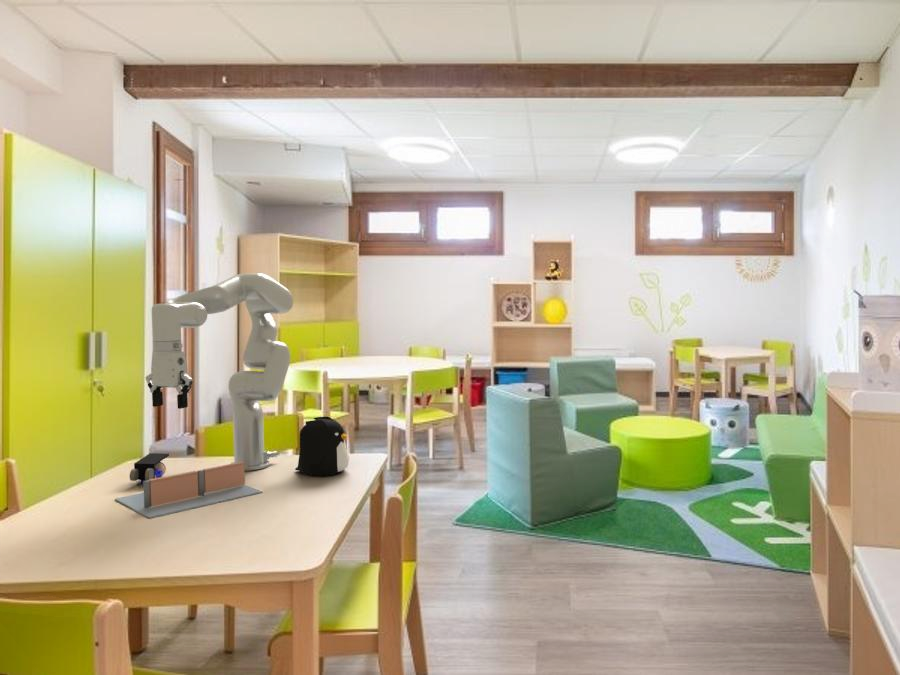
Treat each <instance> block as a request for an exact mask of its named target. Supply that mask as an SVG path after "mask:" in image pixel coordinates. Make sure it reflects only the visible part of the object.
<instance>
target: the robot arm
mask: <svg viewBox="0 0 900 675" xmlns="http://www.w3.org/2000/svg"><path fill="white" fill-rule="evenodd" d="M243 302H245V303H244V304H245V306H246V309H247V311H248V315H249V316H250V319H251V329H250V334H249V336H248V339H247V342H246V345H245V349H244V352H243V356H242V363H243V365H244V366H245V367H246V368H249V369H251V370H240V371H237V372H235V373H234V374H232V375H231V376H230V378H229V380H228V391H229V396H230V400H231V407H232V424H233V425H232V431H233V459H234V461H233V462H231V463H230V464H233V463H238V462H244V472H245V471H257V470H258V471H259V470H262V469H265V468H267V467H269V465H270V461H269V459H271V458H277V457H278V454H279V453H278V451H277V450H274V451H269V450H265V442H264V441H265V440H264V439H265V437H264V435H265V434H264V412H263V408H262V405H261V404H260V402H272V401H275V400H277V398H278V397H279V396H280V394H281V392H282V390H283V386H284V383H285V380H286V376H287V373H288V370H289V366H290V363H291V351H290V349H289V347H288V345H287V344H286V343H284V342H282V341H276V339H277V336H278V327H277V323H276V322H275V320H274V317H273V316H272V315H273V314H274V315H277V314H278V315H282V314H287V313H288V312H290V311H291V310H292V308H293V306H294V298H293V294H292V292H291V291H290V290H289V289H288V288H286V287H285V286H284V285H282V284H281V283H279V282H278V281H277V280H275V279H274V278H272V277H271V276H269V275H267V274H264V273H262V272H261V273H257V272H256V273H238V274H236V275H234V276H233V275H232V276H231V277H229V278H227V279H225V280H223V281H220V282H218V283H217V284H214V285H212V286H208V287H205V288H202V289H199V290H198V289H197V290H195V291H192V292H189V293H185V294H182V295H180V296H177V297H175V298H173V299H170V300H168V301H166V302H165V303H155V304H153V305H152V306H151V328H152V329H151V330H152V345H153V346H152V348H153V350H152V351H153V352H152V355H151V366H150V369H151V370H150V373H149V374H148V375H146V376H145V380H146V383H147V387H148V388H149V391H150V393H151V400H152V407H154V408H155V407H160V406H163V405H164V396H163V395H164V394H163V391H162V389H163V388H175V390H176V392H178V394H177V395H176V399H177V400H176V401H177V403H176V404H177V409H179V410H180V409H185V408H188V407H189V405H188V404H189V403H188V401H189V400H188V394H189V393H190V390H191V388H192V385H193V383H194V379H193V377H191V376H190V375H189V374H188V373H189V371H188V363H187V358H186V355H185V352H184V351H183V346H184V345H183V343H182V328H183V329H184V328H185V329H187V328H188V329H193V328H194V329H197V328H199V327H202V326H203V325H204V324H205V323H206V322H207V320H208V315H214V314H218V313H223V312H226V311H228V310H230V309H231V308H233V307H235V306H237V305H239V304H241V303H243ZM257 370H258V371H257ZM260 370H262V371H260ZM263 370H264V371H263Z"/></svg>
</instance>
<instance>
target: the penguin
mask: <svg viewBox="0 0 900 675" xmlns="http://www.w3.org/2000/svg"><path fill="white" fill-rule="evenodd" d="M347 437H349V435H347V434H345V429H344V427H343V426H342V425H341V423H339V422H338V421H337V420H336V419H333V418H331V417H329V416H317V417H313V420H308V421H307V420H306V421H305V425H303V427H302V428H301V429H300V431H299V454H298V462H297V467H296V468H295V471H299V472H301V473H302V474H306V475H308V476H317V477H321V476H324V477H326V476H327V477H330V476H334V475H337V474H341V473H342V472H343V471H345V469H347V468H348V466H349V461H350V456H349V453H348V450H347V444H346V440H347Z"/></svg>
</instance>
